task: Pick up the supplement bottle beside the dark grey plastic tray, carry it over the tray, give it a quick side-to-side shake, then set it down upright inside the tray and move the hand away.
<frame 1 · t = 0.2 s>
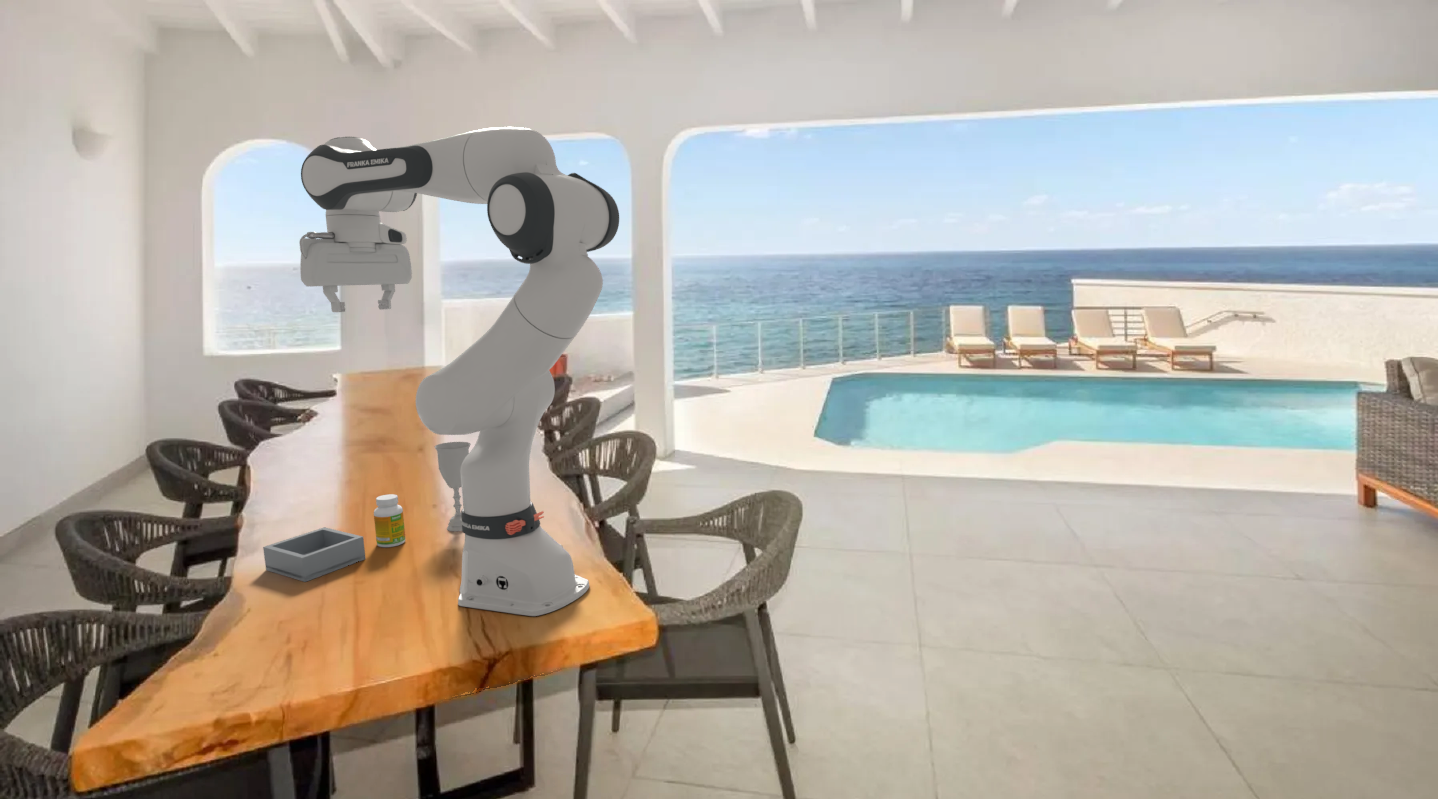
hand: (362, 310, 137), 47 cm above the table, tool pointing down, fingers open, 8 cm apart
chalice: (459, 528, 160), on the table
supplement bottle: (391, 544, 152), on the table
tray: (316, 564, 141), on the table
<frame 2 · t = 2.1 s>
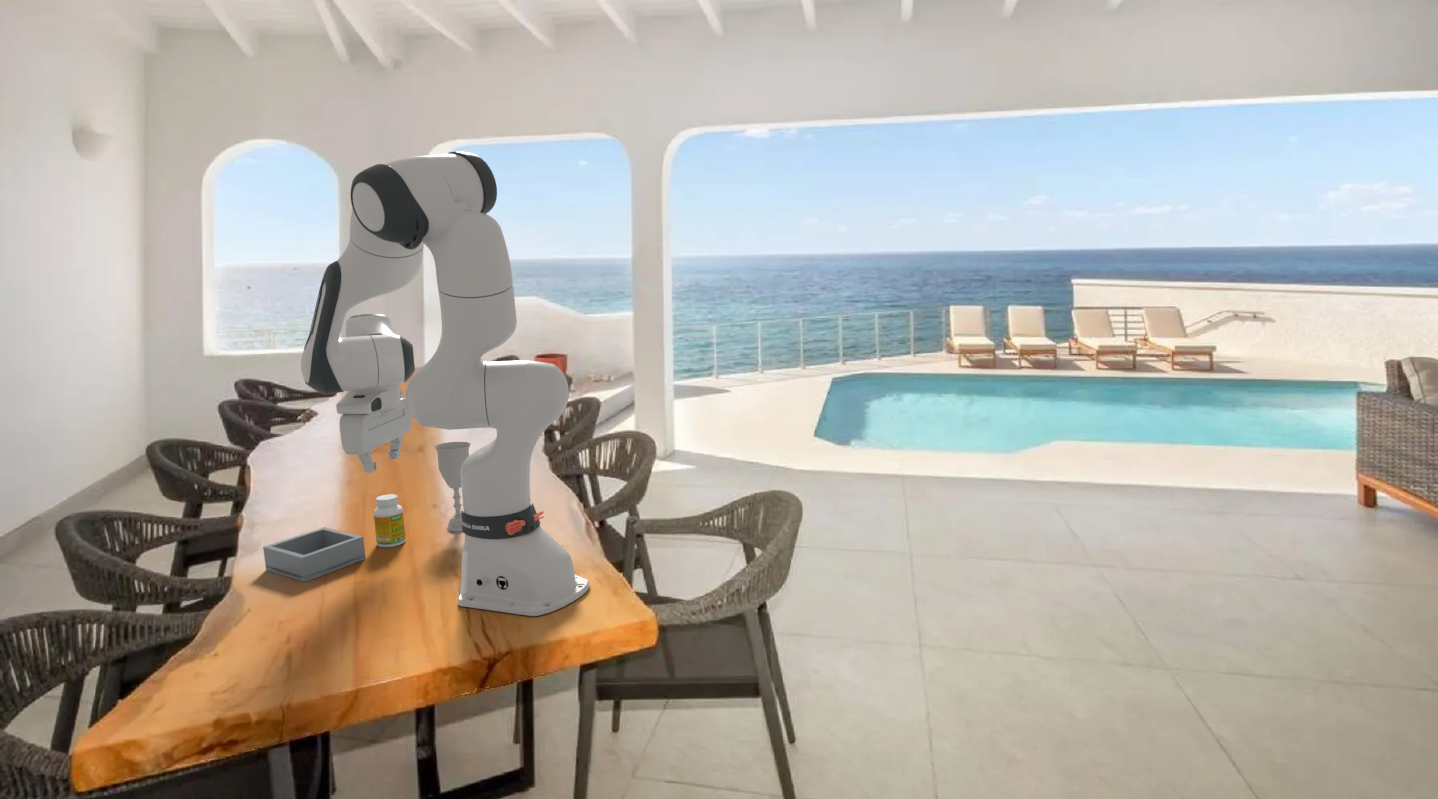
hand: (383, 464, 149), 16 cm above the table, tool pointing down, fingers open, 8 cm apart
nothing on the table moved.
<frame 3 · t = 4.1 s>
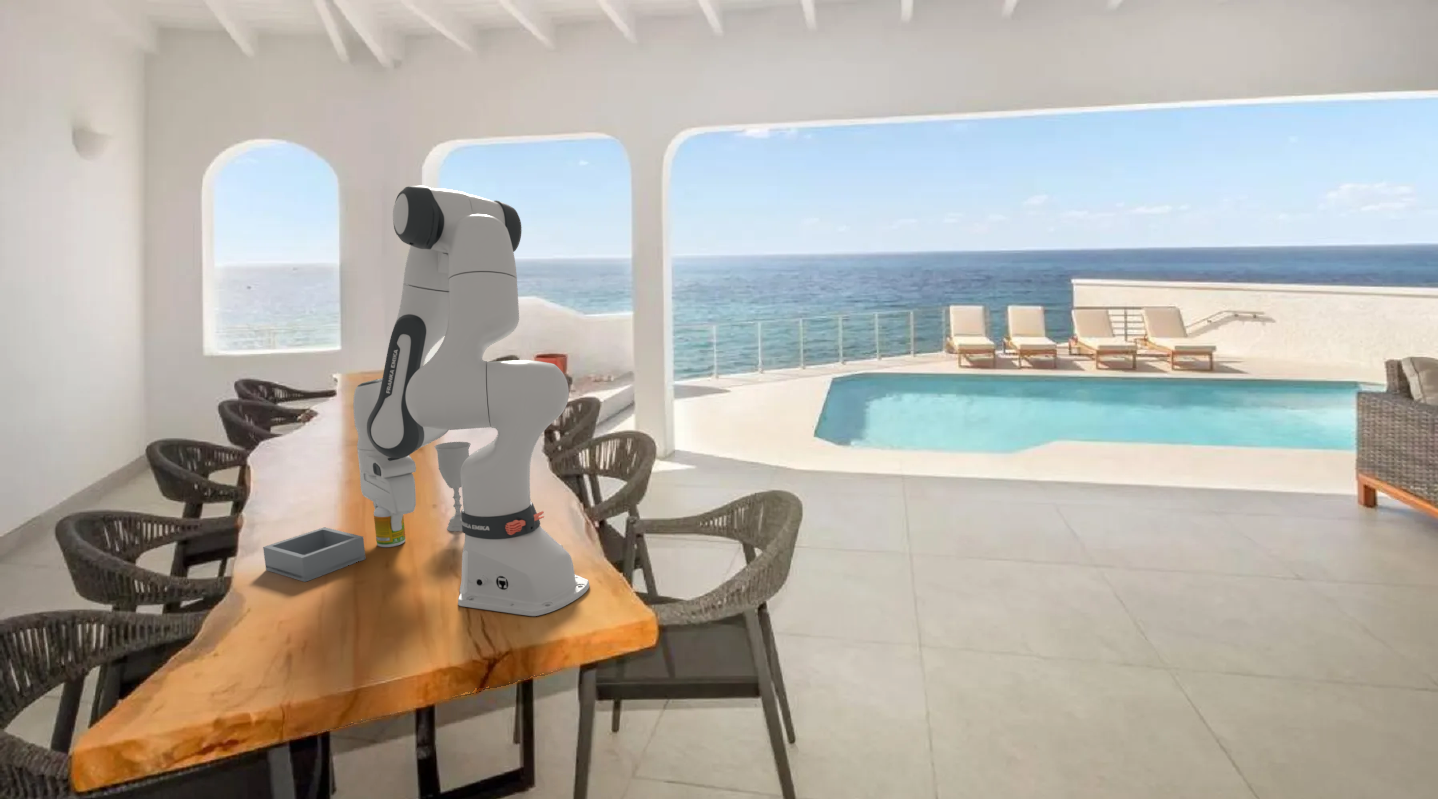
hand: (389, 526, 151), 4 cm above the table, tool pointing down, fingers closed on supplement bottle, 5 cm apart
supplement bottle: (391, 544, 151), on the table, touching gripper
everything else where it was.
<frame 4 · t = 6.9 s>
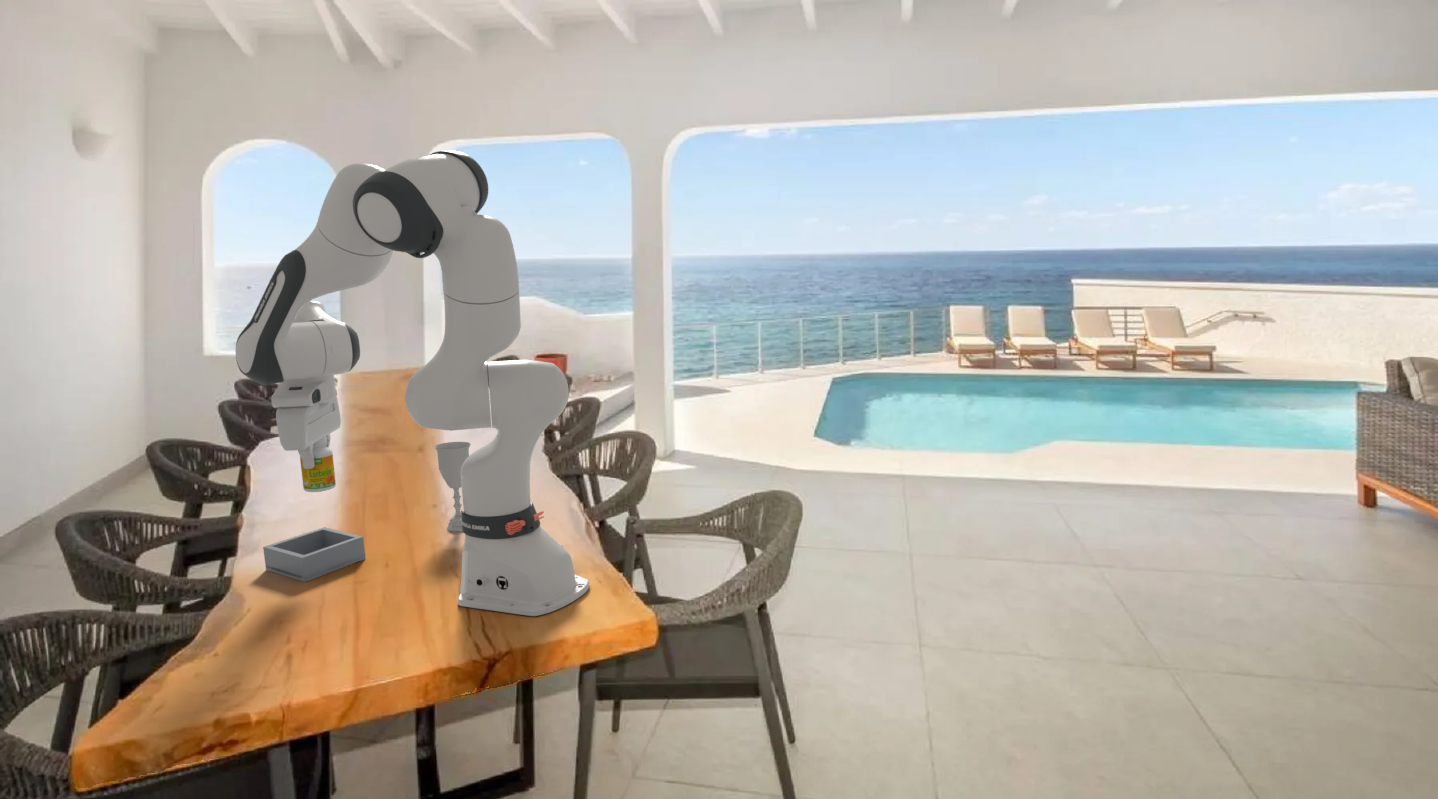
hand: (316, 463, 139), 19 cm above the table, tool pointing down, fingers closed on supplement bottle, 5 cm apart
supplement bottle: (320, 489, 140), point 14 cm above the table, touching gripper
everything else where it was.
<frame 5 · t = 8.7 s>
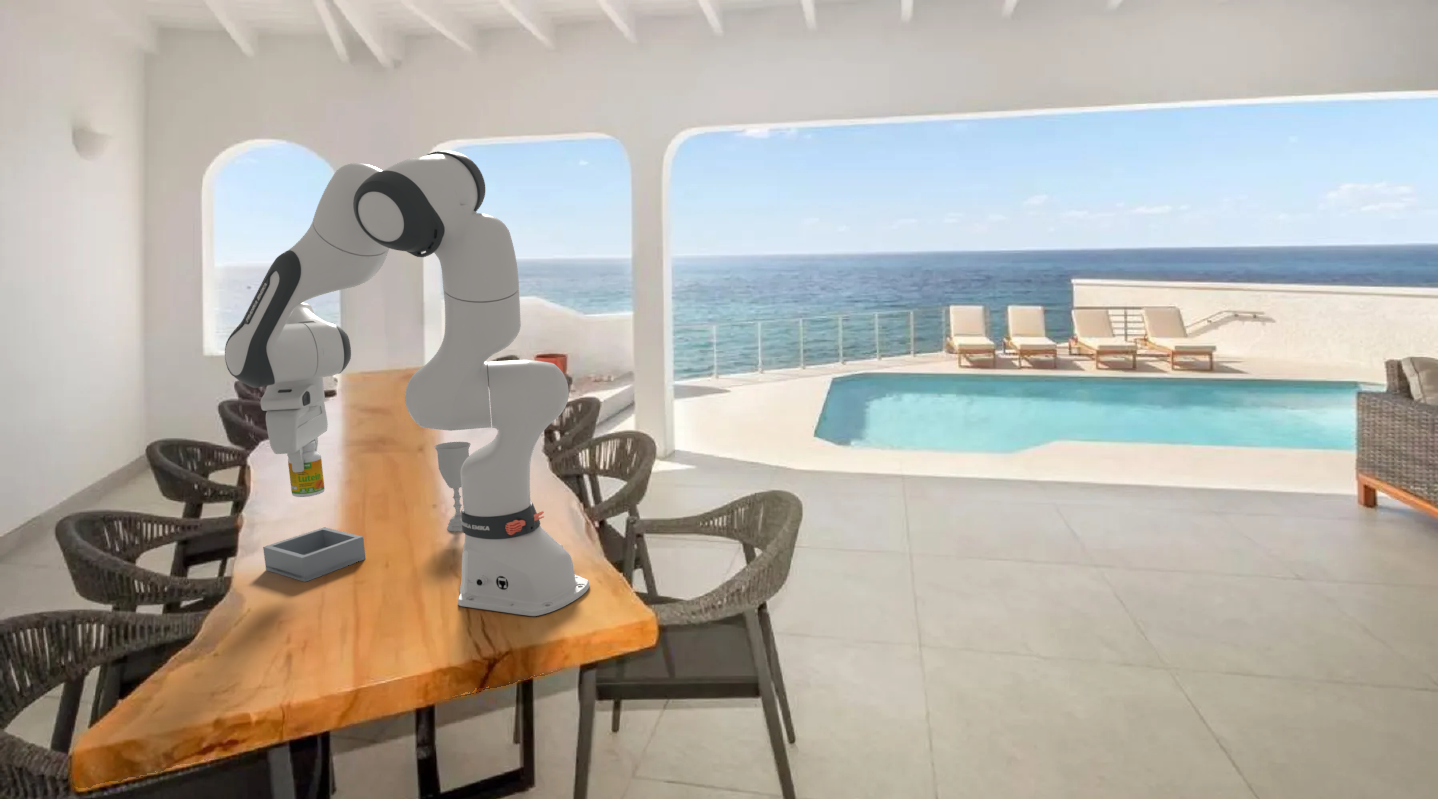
hand: (305, 466, 138), 19 cm above the table, tool pointing down, fingers closed on supplement bottle, 5 cm apart
supplement bottle: (308, 494, 139), point 14 cm above the table, touching gripper
everything else where it was.
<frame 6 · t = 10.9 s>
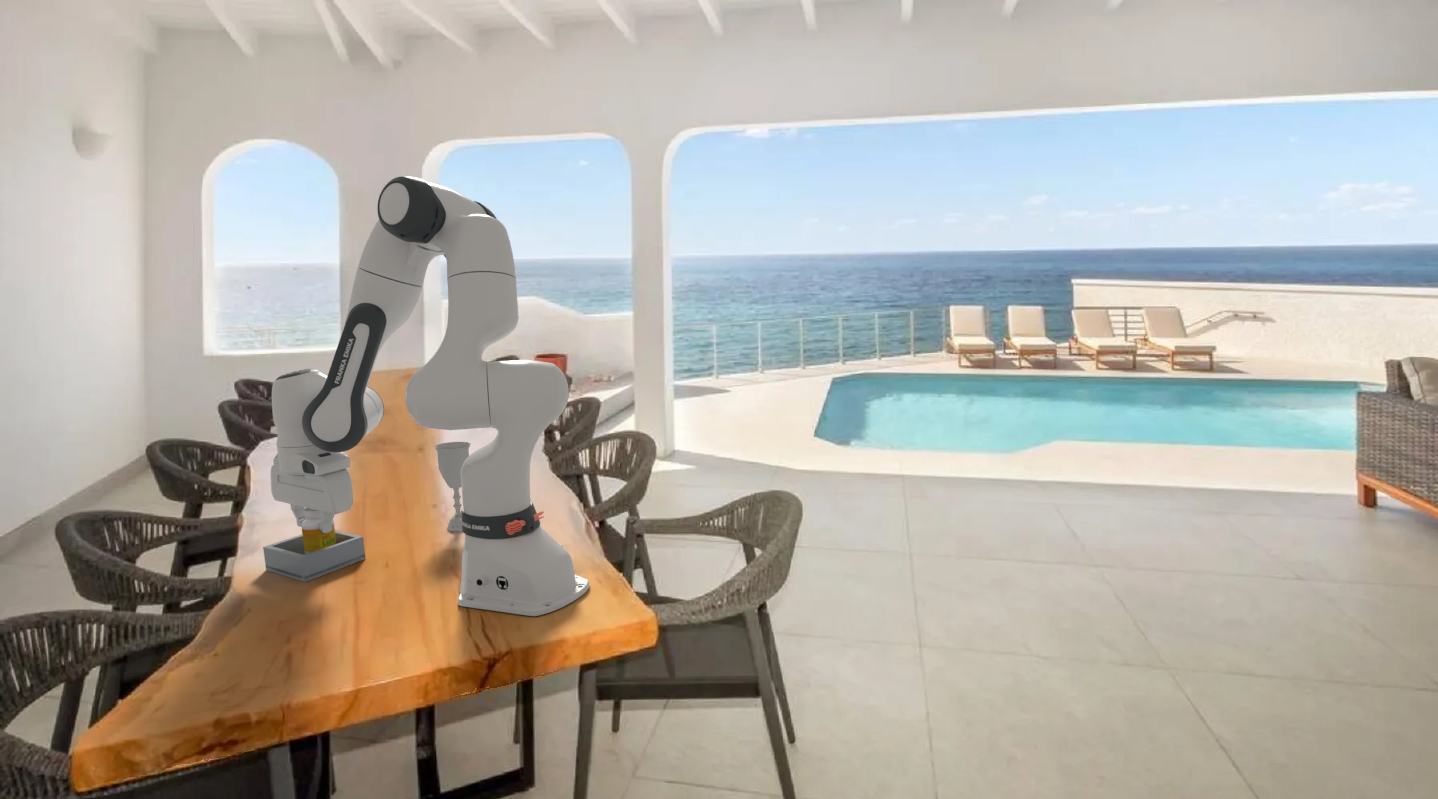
hand: (314, 528, 140), 7 cm above the table, tool pointing down, fingers closed on supplement bottle, 5 cm apart
supplement bottle: (321, 558, 142), point 1 cm above the table, touching gripper, tray
everything else where it was.
when the fingers open (6 cm above the table, at t = 11.6 s): supplement bottle stays where it is, resting on tray.
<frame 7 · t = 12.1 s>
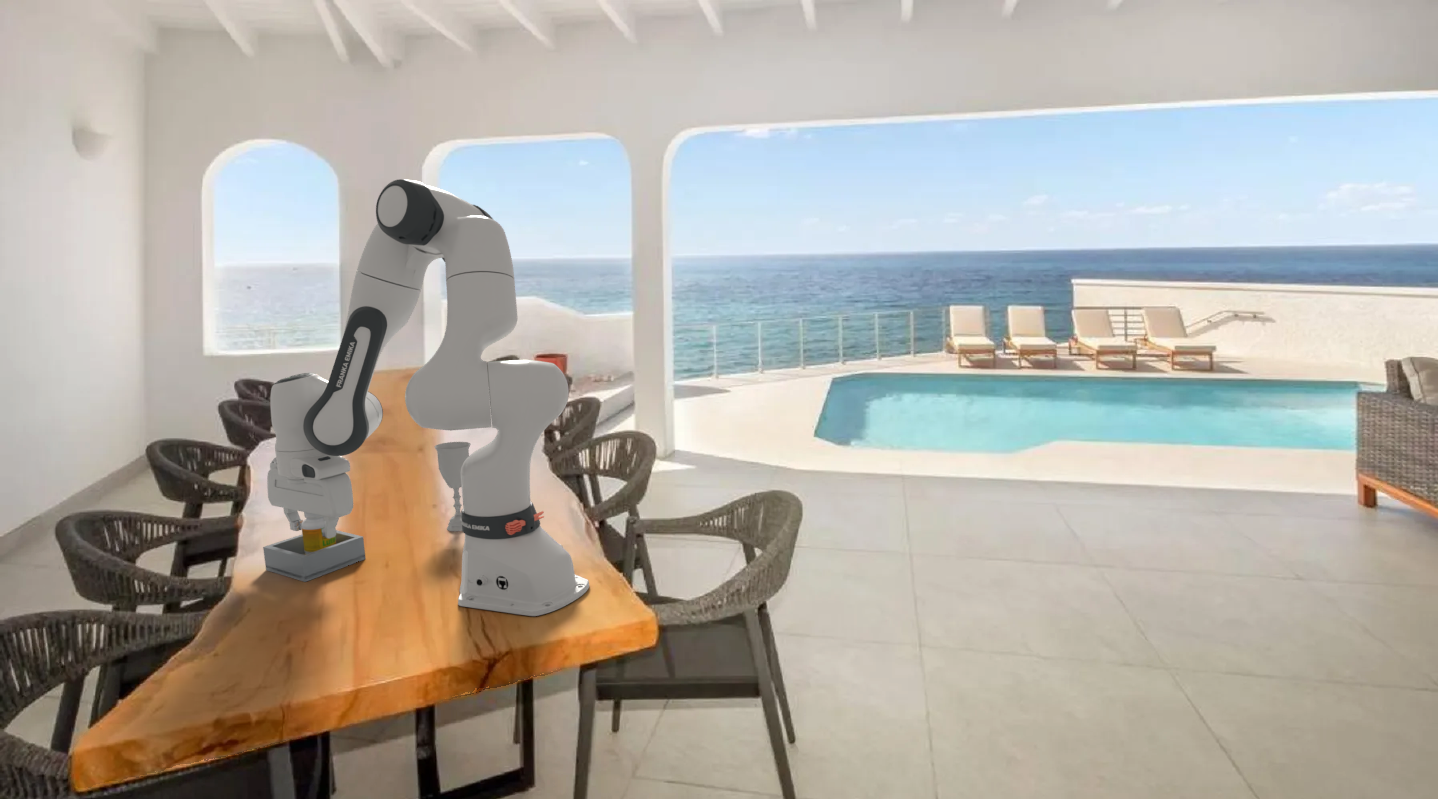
hand: (313, 533, 140), 6 cm above the table, tool pointing down, fingers open, 8 cm apart
supplement bottle: (321, 558, 142), point 1 cm above the table, touching tray
everything else where it was.
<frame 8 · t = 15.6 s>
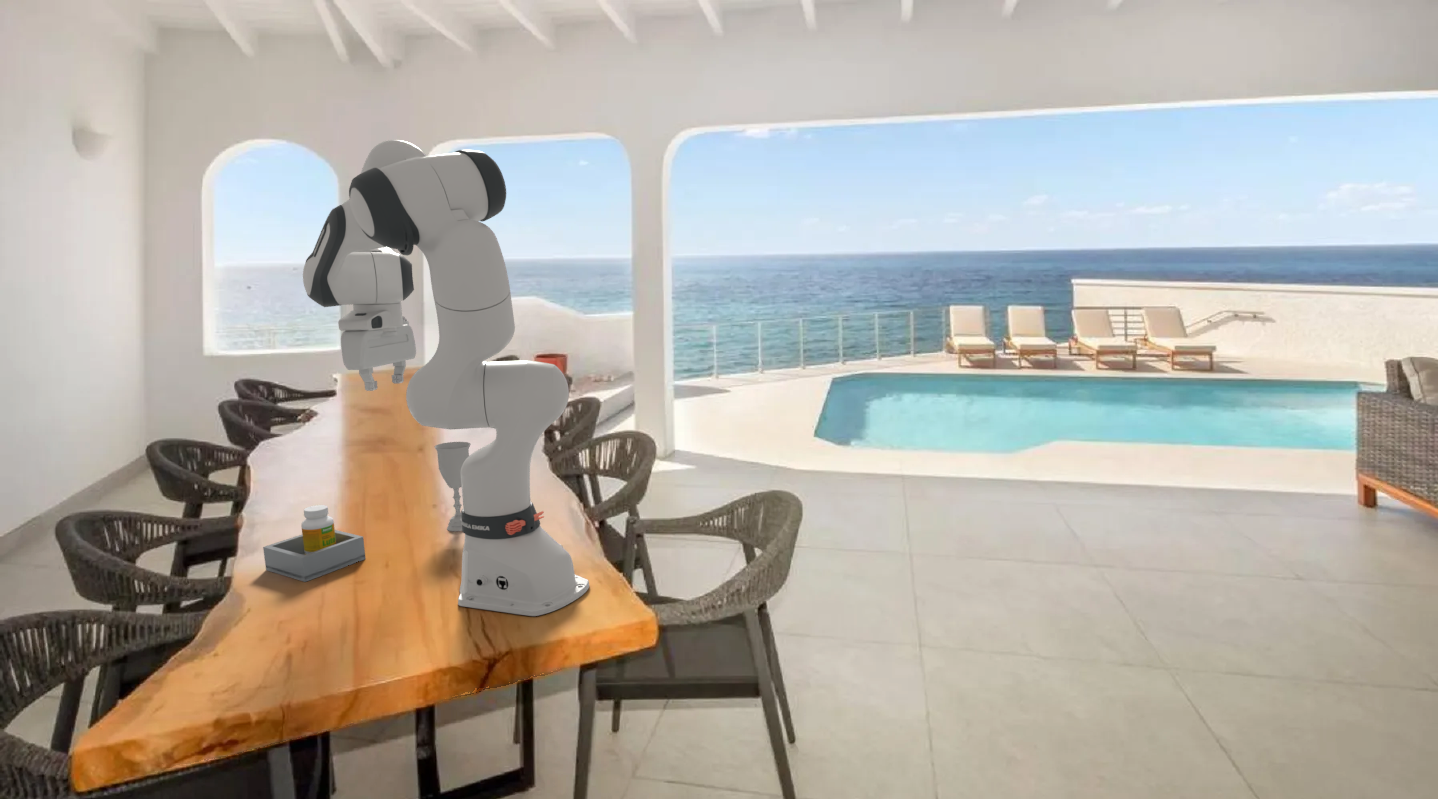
hand: (385, 386, 152), 31 cm above the table, tool pointing down, fingers open, 8 cm apart
nothing on the table moved.
at the end: supplement bottle inside the target area on the tray (1.2 cm from its centre), point 0.8 cm above the tray's base; supplement bottle tilted 0°; the gripper is holding nothing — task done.
